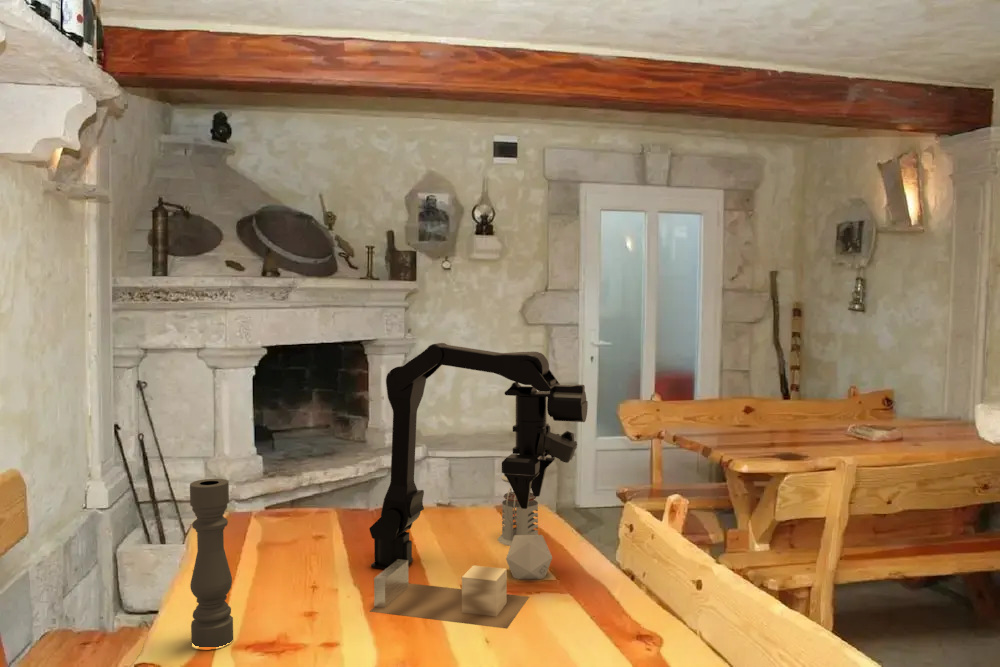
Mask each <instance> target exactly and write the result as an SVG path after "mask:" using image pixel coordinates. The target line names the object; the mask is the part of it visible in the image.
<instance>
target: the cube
mask: <svg viewBox="0 0 1000 667" xmlns="http://www.w3.org/2000/svg"><path fill="white" fill-rule="evenodd" d="M507 571H508V570H507V568H503V567H491V566H482V565H472V566H471V567H470V568H469V569H468V570H467V571H466V572H465V573H464V574H463V575H462V576H461V589H462V612H463V613H471V614H479V615H488V616H497V615H498V614H499V612H500V611H501V610H502V609H503V607H504V606H505V605H506V603H507V594H508V593H507V592H508V591H507V590H508V589H507V585H508V584H507V582H508V580H507V577H508V576H507V575H508V574H507Z"/></svg>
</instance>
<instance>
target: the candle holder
mask: <svg viewBox="0 0 1000 667" xmlns="http://www.w3.org/2000/svg"><path fill="white" fill-rule="evenodd" d="M229 488H230V484H229V480H227V479H223V478H206V479H204V478H203V479H198V480H196V481H193V482H190V483H189V506H191V507H192V510H191V511H192V512H193V513H194V516H195V517H196V519H194V521H193V522H192V524H191V526H192V529H193V530H195V532H196V538H197V539H196V541H197V543H196V544H197V545H196V546H197V547H196V548H197V552H196V556H195V560H194V561H195V563H194V566H193V571H192V575H191V576H192V577H191V579H190V586H189V587H190V591H191V593H192V595H193V596H194V597H195V598H196V603H198V604H197V606H195V609H194V610H193V612H192V619H193V620H192V621H191V624H190V628H191V629H190V632H191V633H190V635H191V636H190V637H191V642H192V643H193V644H194V645H195V646H199V647H219V646H223V645H226V644H227V643H230V642H231V641H232V640H233V641H234V617H233V616H232V615H231V614H232V607H231V606H230V605H229V603H227V601H226V600H227V598H228V596H227V595H228V593H229V592H230V590H231V589H232V583H233V576H232V573H231V569H230V566H229V562H228V558H227V555H226V550H225V547H224V546H225V545H224V543H225V541H224V530H225V528H226V527H227V526H228V523H229V520H228V519H227V518H226V517H224V515H225V512H226V510H227V508H228V504H229V502H230V492H229V490H230V489H229ZM192 643H191V644H192Z"/></svg>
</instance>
